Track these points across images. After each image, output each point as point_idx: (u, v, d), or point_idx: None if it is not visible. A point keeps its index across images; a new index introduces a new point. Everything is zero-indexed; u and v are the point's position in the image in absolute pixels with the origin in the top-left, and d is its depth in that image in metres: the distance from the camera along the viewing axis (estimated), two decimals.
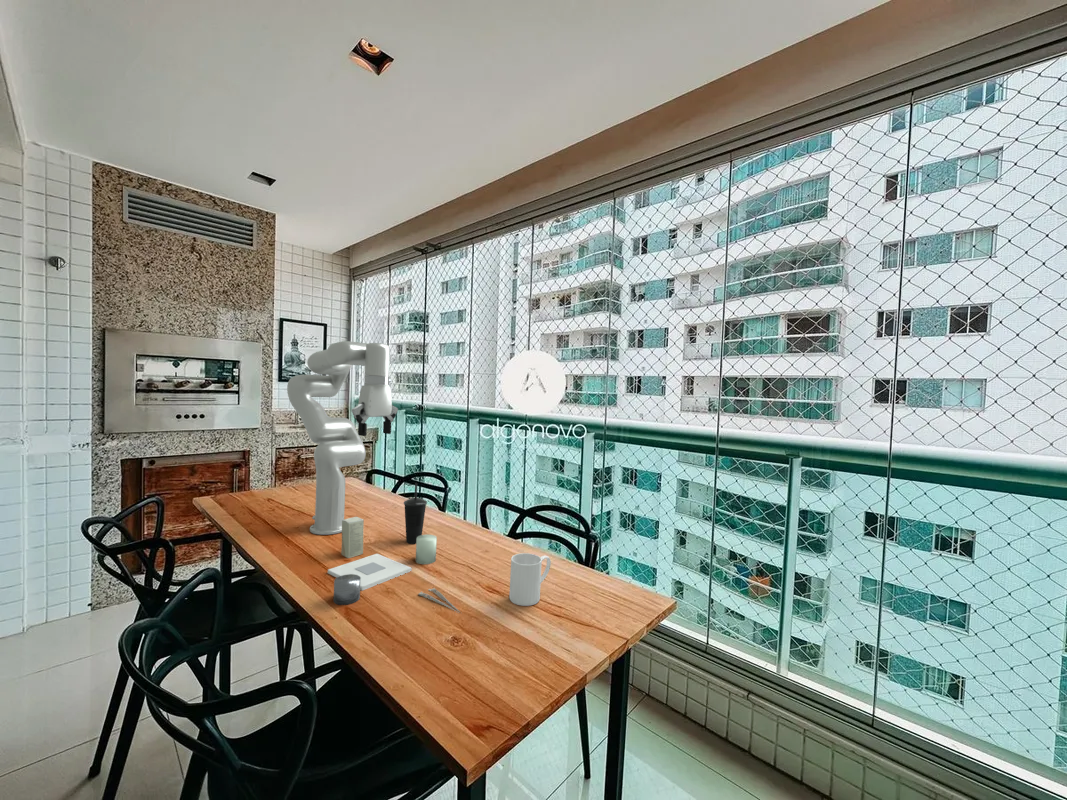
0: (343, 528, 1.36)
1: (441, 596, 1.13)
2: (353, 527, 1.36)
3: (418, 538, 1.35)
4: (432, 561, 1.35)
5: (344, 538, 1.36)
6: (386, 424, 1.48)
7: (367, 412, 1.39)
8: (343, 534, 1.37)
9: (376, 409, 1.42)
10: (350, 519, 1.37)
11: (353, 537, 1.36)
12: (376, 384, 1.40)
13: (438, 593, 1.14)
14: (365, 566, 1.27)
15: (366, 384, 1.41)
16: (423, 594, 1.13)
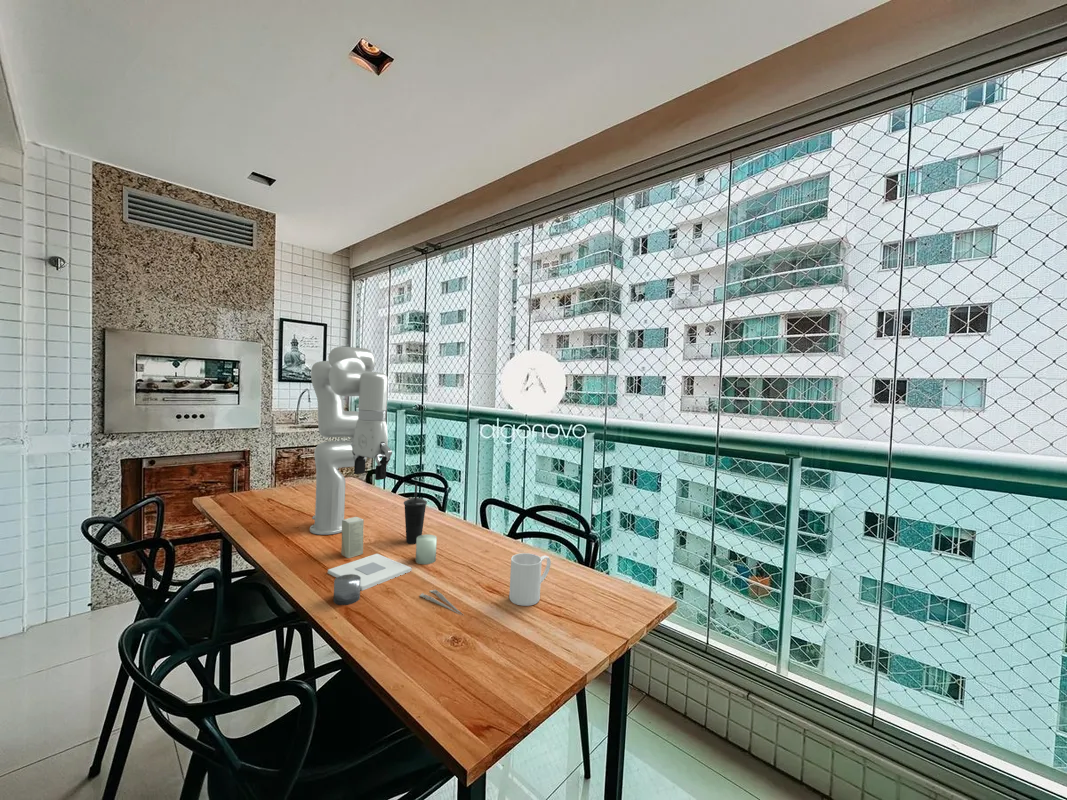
0: (343, 528, 1.36)
1: (442, 597, 1.13)
2: (353, 527, 1.36)
3: (418, 538, 1.35)
4: (432, 561, 1.35)
5: (344, 538, 1.36)
6: (361, 463, 1.29)
7: None
8: (343, 534, 1.37)
9: None
10: (350, 519, 1.37)
11: (353, 537, 1.36)
12: None
13: (439, 594, 1.14)
14: (365, 566, 1.27)
15: (379, 421, 1.24)
16: (424, 595, 1.13)
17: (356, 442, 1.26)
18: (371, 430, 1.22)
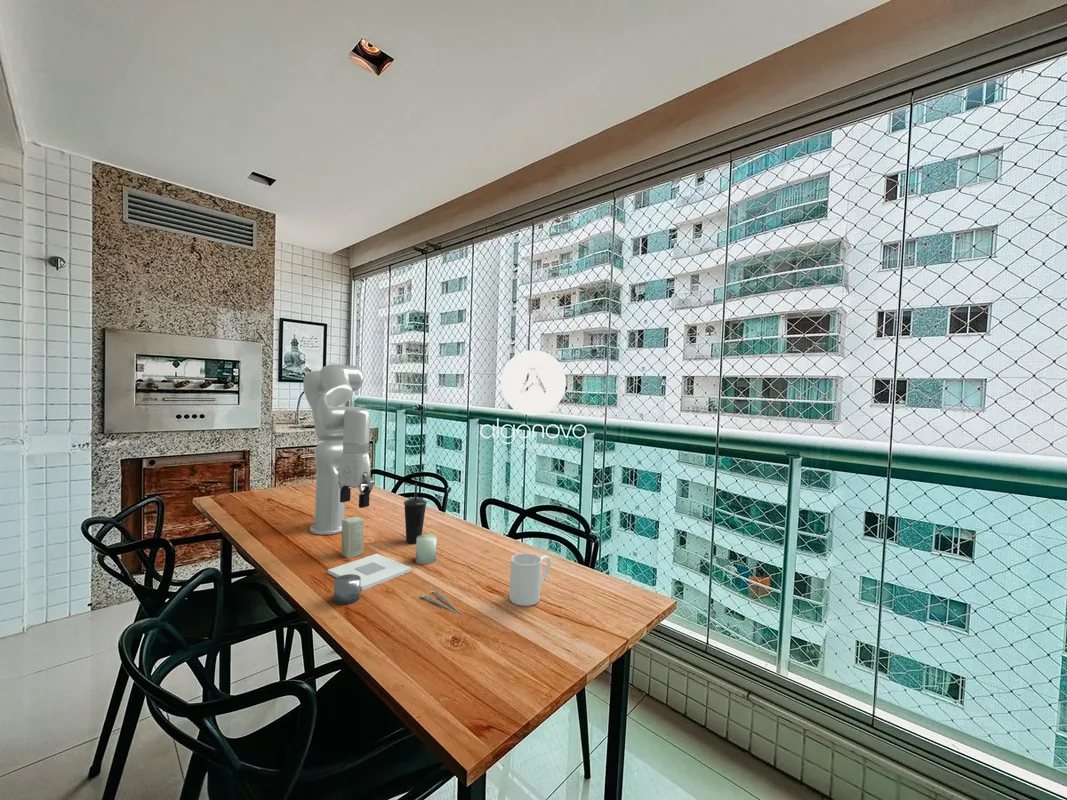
0: (343, 528, 1.36)
1: (443, 598, 1.12)
2: (353, 527, 1.36)
3: (418, 538, 1.35)
4: (432, 561, 1.35)
5: (344, 538, 1.36)
6: (346, 492, 1.40)
7: None
8: (343, 534, 1.37)
9: None
10: (350, 519, 1.37)
11: (353, 537, 1.36)
12: (368, 451, 1.38)
13: (440, 595, 1.13)
14: (365, 566, 1.27)
15: (362, 453, 1.35)
16: (425, 596, 1.12)
17: (341, 473, 1.36)
18: (354, 462, 1.33)
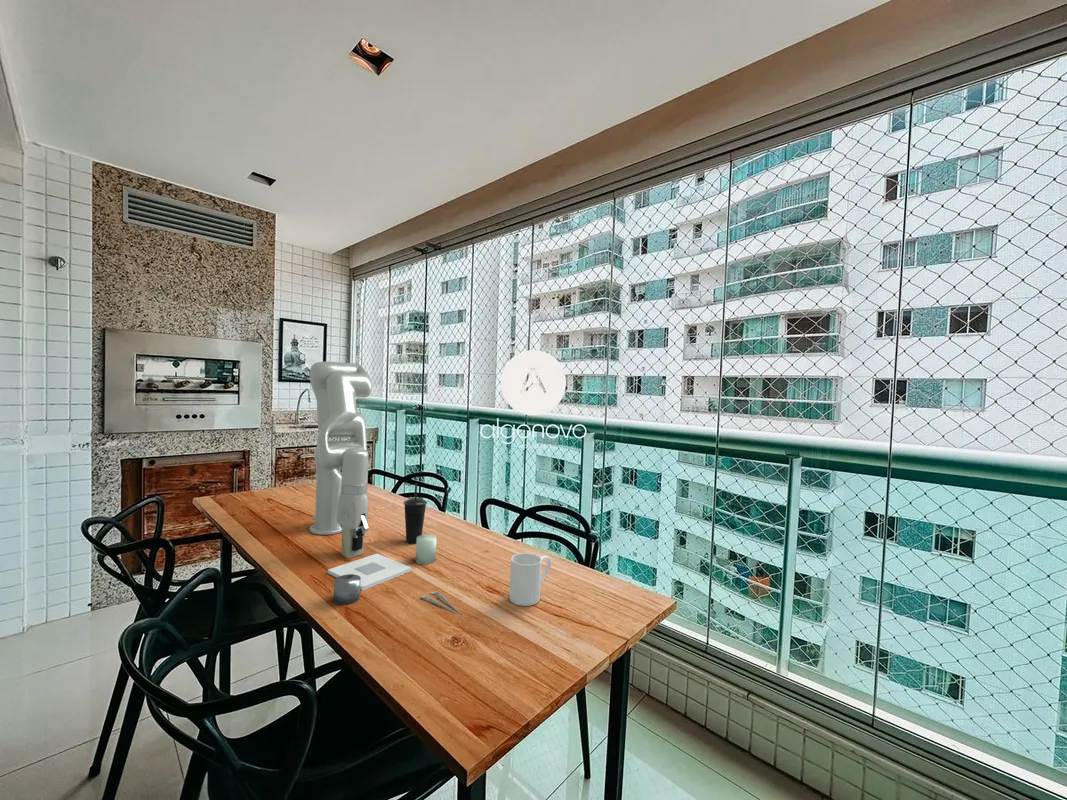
0: (343, 528, 1.36)
1: (443, 599, 1.12)
2: None
3: (418, 538, 1.35)
4: (432, 561, 1.35)
5: (344, 538, 1.36)
6: None
7: (367, 522, 1.37)
8: (343, 534, 1.36)
9: None
10: None
11: (353, 537, 1.36)
12: None
13: (440, 596, 1.13)
14: (365, 566, 1.27)
15: (360, 494, 1.35)
16: (425, 597, 1.12)
17: (339, 513, 1.37)
18: (352, 504, 1.34)
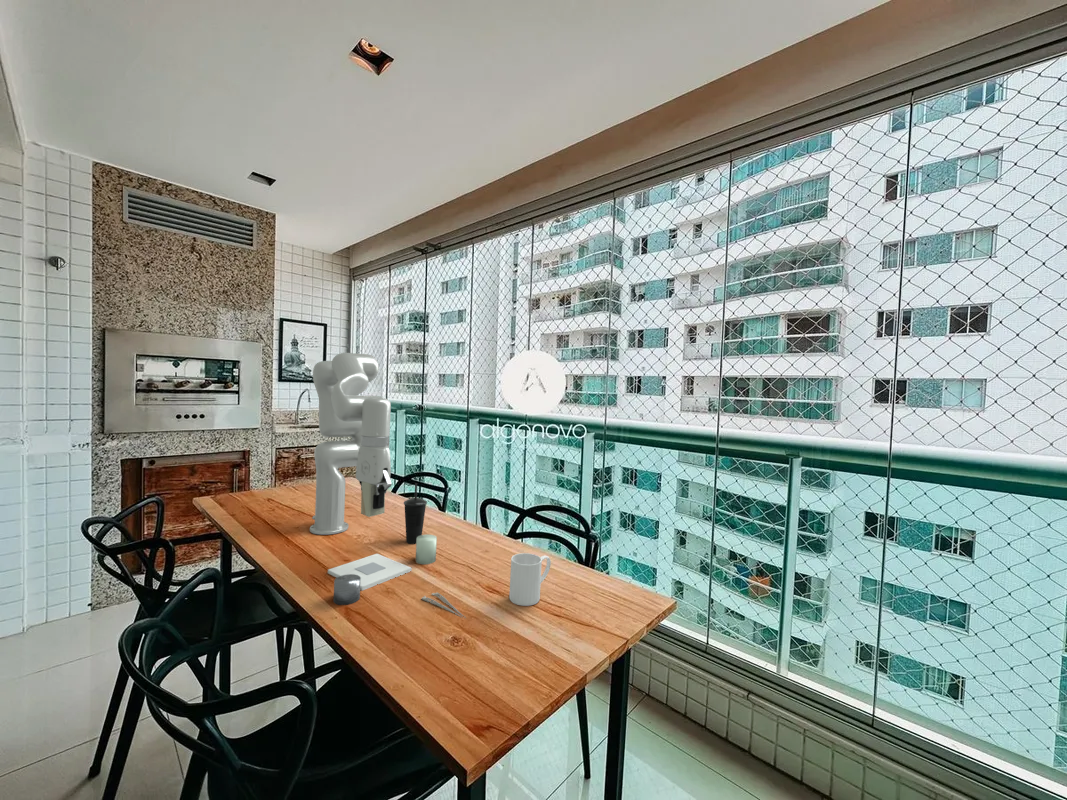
0: (363, 484, 1.24)
1: (445, 600, 1.11)
2: None
3: (418, 538, 1.35)
4: (432, 561, 1.35)
5: (364, 495, 1.24)
6: None
7: (389, 478, 1.24)
8: (363, 491, 1.24)
9: None
10: None
11: (374, 494, 1.24)
12: None
13: (442, 597, 1.12)
14: (365, 566, 1.27)
15: (382, 447, 1.23)
16: (426, 598, 1.11)
17: (359, 468, 1.25)
18: (374, 457, 1.21)
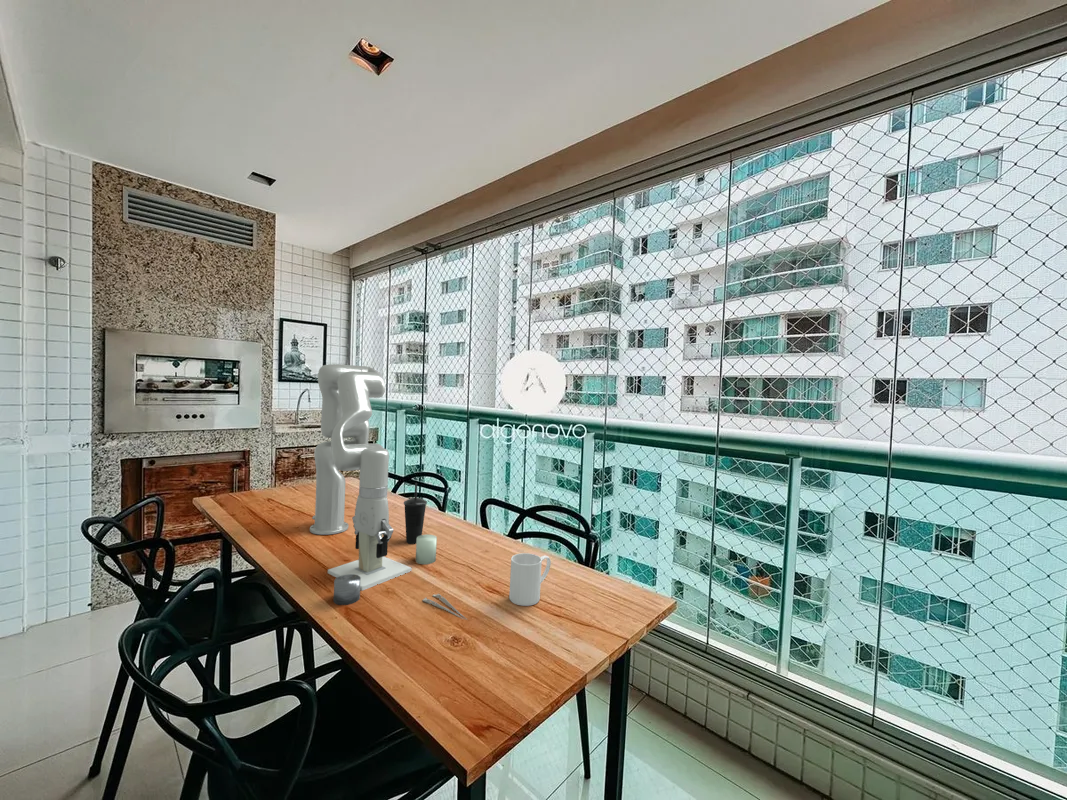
0: (360, 539, 1.25)
1: (446, 602, 1.10)
2: (372, 538, 1.24)
3: (418, 538, 1.35)
4: (432, 561, 1.35)
5: (362, 550, 1.24)
6: None
7: None
8: (360, 546, 1.25)
9: None
10: None
11: (372, 549, 1.24)
12: None
13: (443, 599, 1.11)
14: None
15: (380, 498, 1.23)
16: (427, 600, 1.10)
17: (357, 518, 1.25)
18: (372, 508, 1.22)
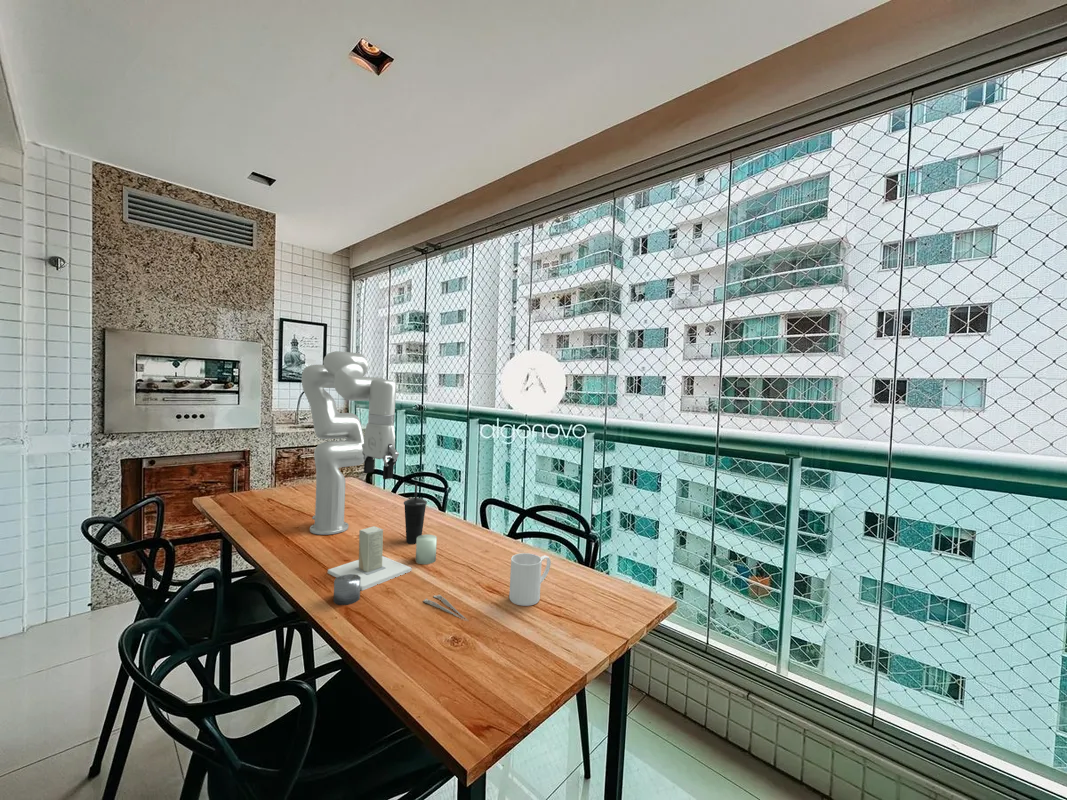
0: (361, 539, 1.25)
1: (447, 603, 1.10)
2: (373, 538, 1.24)
3: (418, 538, 1.35)
4: (432, 561, 1.35)
5: (362, 550, 1.24)
6: (370, 463, 1.39)
7: None
8: (361, 546, 1.25)
9: None
10: (368, 529, 1.26)
11: (372, 549, 1.24)
12: (393, 423, 1.36)
13: (444, 600, 1.11)
14: None
15: (387, 424, 1.33)
16: (428, 601, 1.10)
17: (366, 444, 1.35)
18: (379, 433, 1.32)
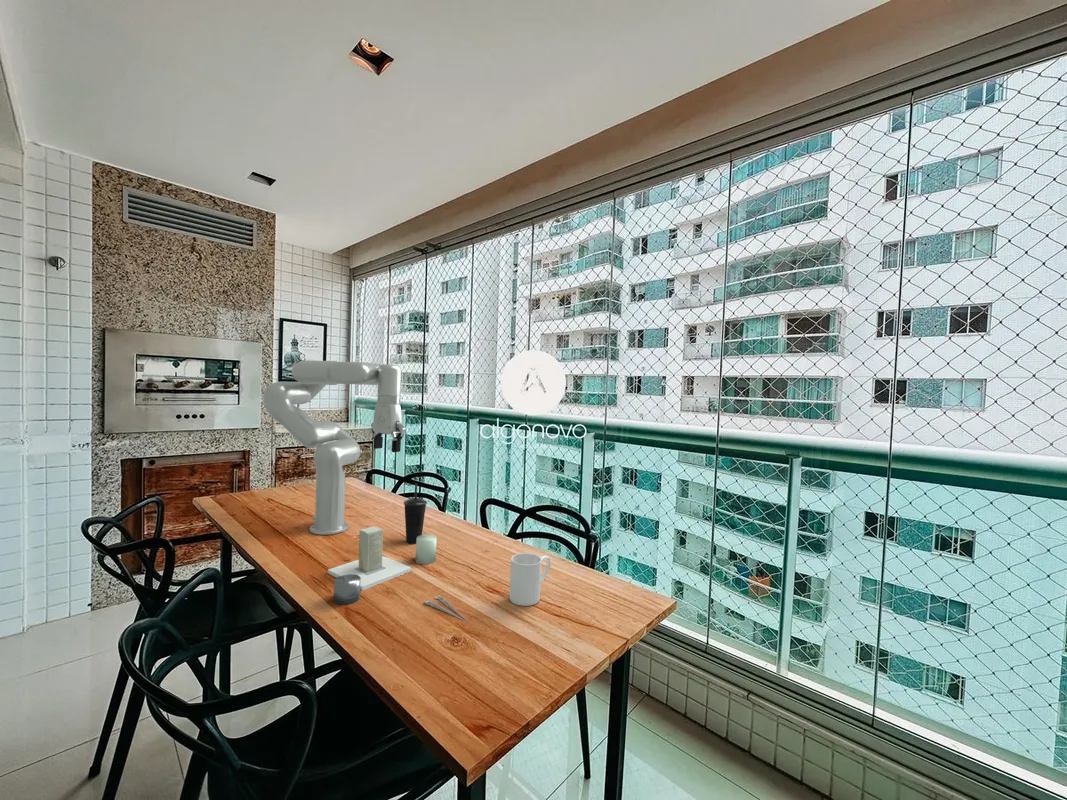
0: (361, 539, 1.25)
1: (448, 604, 1.09)
2: (373, 538, 1.24)
3: (418, 538, 1.35)
4: (432, 561, 1.35)
5: (362, 550, 1.24)
6: (379, 439, 1.56)
7: None
8: (361, 546, 1.25)
9: None
10: (368, 529, 1.26)
11: (372, 549, 1.24)
12: None
13: (444, 601, 1.10)
14: None
15: (395, 404, 1.51)
16: (429, 602, 1.09)
17: (375, 422, 1.53)
18: (388, 411, 1.49)
